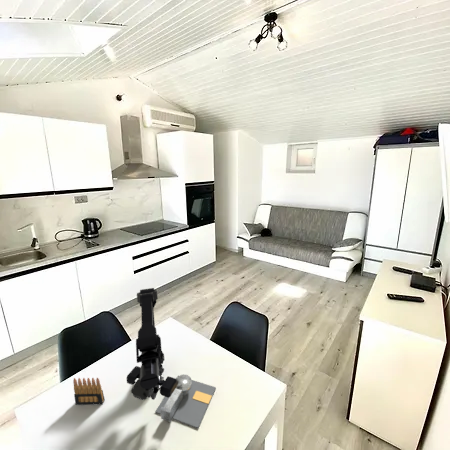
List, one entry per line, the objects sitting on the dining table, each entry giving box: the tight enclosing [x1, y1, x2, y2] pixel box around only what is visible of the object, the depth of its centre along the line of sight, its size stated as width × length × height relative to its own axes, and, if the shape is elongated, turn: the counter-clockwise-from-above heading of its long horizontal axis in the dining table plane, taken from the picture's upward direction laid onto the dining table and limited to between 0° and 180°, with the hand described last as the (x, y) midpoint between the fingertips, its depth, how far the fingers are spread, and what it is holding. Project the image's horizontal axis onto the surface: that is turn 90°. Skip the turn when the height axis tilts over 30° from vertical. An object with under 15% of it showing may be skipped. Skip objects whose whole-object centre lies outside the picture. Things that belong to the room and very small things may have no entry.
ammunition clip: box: [73, 377, 105, 406], centre depth 96 cm, size 11×2×12 cm, turn 90°
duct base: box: [155, 379, 217, 430], centre depth 97 cm, size 18×17×3 cm
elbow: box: [160, 374, 193, 423], centre depth 96 cm, size 16×7×4 cm, turn 160°
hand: (153, 398), depth 92 cm, fingers closed
